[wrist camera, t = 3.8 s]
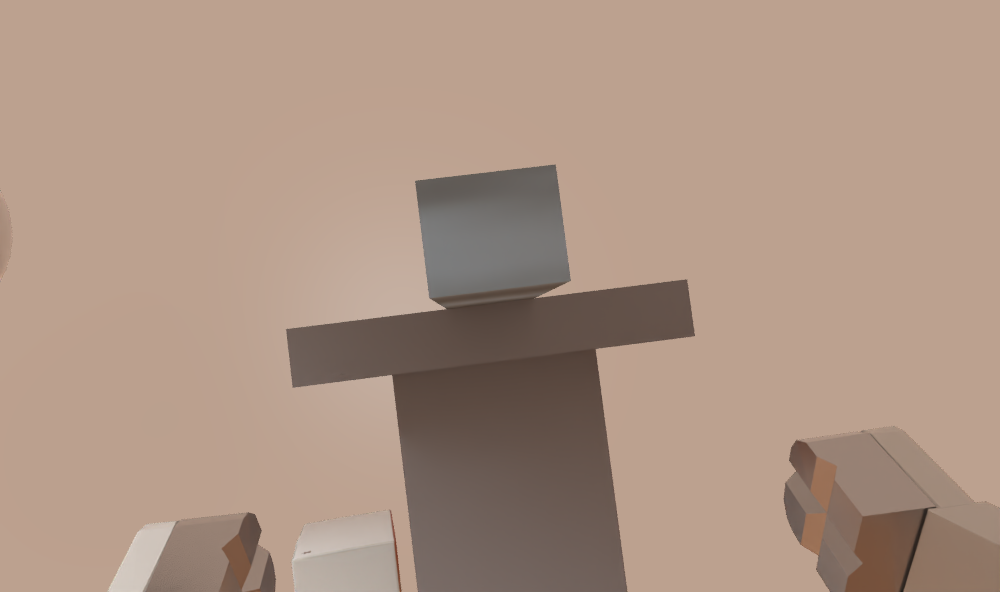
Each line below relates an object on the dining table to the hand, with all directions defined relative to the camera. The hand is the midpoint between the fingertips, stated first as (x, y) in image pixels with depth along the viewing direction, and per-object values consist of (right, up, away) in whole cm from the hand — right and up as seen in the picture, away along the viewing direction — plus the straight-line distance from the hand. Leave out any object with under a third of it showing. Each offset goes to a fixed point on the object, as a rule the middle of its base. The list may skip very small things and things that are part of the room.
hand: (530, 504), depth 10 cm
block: (-1, +3, +15) cm, 15 cm away
